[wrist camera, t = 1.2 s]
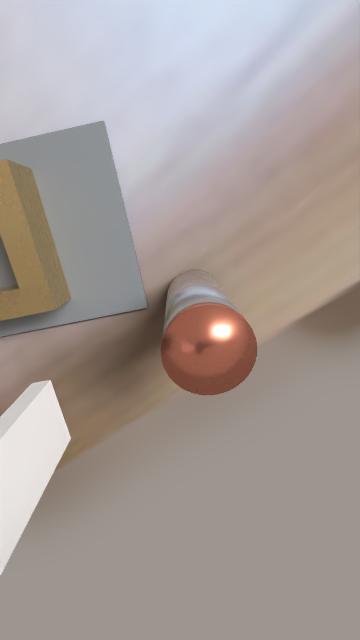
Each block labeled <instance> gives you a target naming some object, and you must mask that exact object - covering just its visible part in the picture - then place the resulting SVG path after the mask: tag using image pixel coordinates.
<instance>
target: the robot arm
mask: <svg viewBox="0 0 360 640" xmlns="http://www.w3.org/2000/svg"><path fill="white" fill-rule="evenodd" d="M70 439H71V437H70V434H69V431H68V429H67V426H66V423H65V420H64V417H63V414H62V412H61V409H60V406H59V403H58V400H57V397H56V395H55V392H54V389H53V386H52V383H51V380H48V381H42V382H37V383H32V384H31V385H30V386H29V387H28V388H27V389H26V390H25V391H24V392H23V393H22V394H21V395H20V397H19V398H18V399H17V400H16V401H15V402H14V403H13V404H12V405H11V406H10V407H9V408H8V409H7V410H6V411H5V412H4V414H3V415H2V416H1V417H0V575H1V573H2V571H3V569H4V568H5V566H6V564H7V561H8V560H9V558H10V556H11V554H12V552H13V550H14V548H15V546H16V544H17V542H18V540H19V538H20V536H21V534H22V533H23V531H24V529H25V527H26V525H27V523H28V521H29V519H30V517H31V515H32V513H33V511H34V509H35V507H36V505H37V503H38V501H39V499H40V498H41V495H42V494H43V492H44V490H45V488H46V486H47V484H48V482H49V480H50V478H51V476H52V474H53V472H54V470H55V468H56V466H57V464H58V463H59V461H60V459H61V457H62V455H63V453H64V451H65V449H66V447H67V445H68V443H69V441H70Z"/></svg>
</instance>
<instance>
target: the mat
mask: <svg viewBox="0 0 360 640" xmlns="http://www.w3.org/2000/svg"><path fill="white" fill-rule="evenodd" d="M4 159H8V160H10V161H13V162H15V163H18V164H21V165H23V166H26V167H28V168H31V169H32V172H33V175H34V178H35V181H36V185H37V188H38V191H39V194H40V198H41V201H42V204H43V207H44V211H45V214H46V217H47V220H48V224H49V227H50V230H51V233H52V237H53V240H54V243H55V246H56V250H57V253H58V256H59V259H60V263H61V266H62V269H63V272H64V276H65V279H66V282H67V286H68V289H69V292H70V295H71V299H70V300H69V301H67V302H66V303H65V304H63V305H62V306H60V307H59V308H57V309H56V310H52V311H47V312H42V313H37V314H32V315H27V316H22V317H17V318H12V319H7V320H2V321H0V337H2V336H7V335H12V334H17V333H22V332H27V331H32V330H37V329H42V328H47V327H52V326H57V325H62V324H67V323H73V322H78V321H83V320H88V319H93V318H98V317H103V316H108V315H113V314H118V313H123V312H128V311H133V310H138V309H143V308H148V304H147V300H146V295H145V291H144V287H143V283H142V279H141V274H140V270H139V266H138V262H137V257H136V253H135V249H134V245H133V241H132V236H131V232H130V228H129V224H128V219H127V215H126V211H125V207H124V203H123V198H122V194H121V190H120V186H119V181H118V177H117V173H116V169H115V165H114V160H113V156H112V152H111V148H110V144H109V139H108V135H107V131H106V127H105V122H104V121H99V122H95V123H90V124H86V125H82V126H77V127H73V128H69V129H64V130H60V131H56V132H51V133H47V134H42V135H38V136H34V137H29V138H25V139H21V140H16V141H12V142H7V143H3V144H0V160H4ZM13 285H18V283H17V280H16V277H15V275H14V272H13V269H12V266H11V263H10V260H9V258H8V255H7V252H6V249H5V246H4V243H3V240H2V238H1V235H0V288H4V287H8V286H13Z"/></svg>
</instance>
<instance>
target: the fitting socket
mask: <svg viewBox="0 0 360 640" xmlns="http://www.w3.org/2000/svg"><path fill="white" fill-rule="evenodd" d="M0 235H1V238H2V240H3V243H4V246H5V249H6V252H7V255H8V258H9V260H10V263H11V266H12V269H13V272H14V275H15V277H16V280H17V283H18V285H13V286H8V287H4V288H0V321H2V320H7V319H12V318H17V317H22V316H27V315H32V314H37V313H42V312H47V311H52V310H56V309H57V308H59V307H60V306H62V305H63V304H65V303H66V302H67V301H69V300H70V299H71V295H70V292H69V289H68V286H67V282H66V279H65V276H64V272H63V269H62V266H61V263H60V259H59V256H58V253H57V250H56V246H55V243H54V240H53V237H52V233H51V230H50V227H49V224H48V220H47V217H46V214H45V211H44V207H43V204H42V201H41V198H40V194H39V191H38V188H37V185H36V181H35V178H34V175H33V172H32V169H31V168H28V167H26V166H23V165H21V164H18V163H15V162H13V161H10V160H8V159H4V160H0Z"/></svg>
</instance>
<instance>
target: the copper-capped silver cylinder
mask: <svg viewBox="0 0 360 640" xmlns="http://www.w3.org/2000/svg"><path fill="white" fill-rule="evenodd" d="M256 356H257V342H256V337H255V335H254V332H253V330H252V328H251V327H250V325H249V324H248V323H247V321H246V320H245V318H244V317H243V316H242V314H241V313H240V312H239V310H238V309H237V308H236V306H235V305H234V304H233V302H232V301H231V300H230V298H229V297H228V296H227V294H226V293H225V291H224V290H223V289H222V287H221V286H220V285H219V283H218V282H217V281H216V279H215V278H214V277H213V276H211V275H210V274H208V273H206V272H204V271H201V270H189V271H186V272H183V273H181V274H179V275H178V276H177V277H176V278H175V279H174V280H173V281H172V282H171V284H170V286H169V289H168V293H167V302H166V310H165V319H164V328H163V337H162V346H161V358H162V363H163V366H164V368H165V370H166V372H167V374H168V376H169V377H170V378H171V379H172V381H173V382H175V383H176V384H177V385H178V386H179V387H181V388H182V389H184V390H186V391H189V392H191V393H195V394H199V395H215V394H220V393H224V392H227V391H229V390H231V389H233V388H235V387H236V386H237V385H239V384H240V383H241V382H242V381H244V380H245V378H246V377H247V376H248V375H249V373H250V372H251V370H252V368H253V366H254V363H255V361H256Z"/></svg>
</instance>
